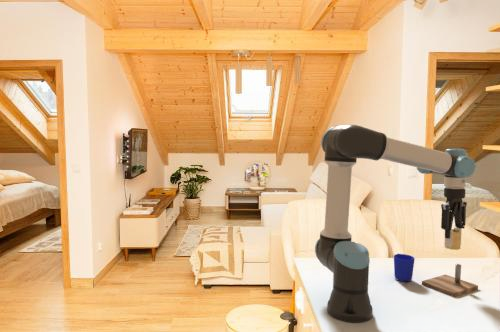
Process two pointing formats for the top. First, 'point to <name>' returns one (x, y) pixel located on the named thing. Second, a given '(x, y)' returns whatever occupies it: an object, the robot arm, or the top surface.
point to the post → (457, 274)
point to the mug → (403, 267)
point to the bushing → (455, 240)
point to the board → (449, 285)
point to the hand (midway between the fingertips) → (452, 244)
